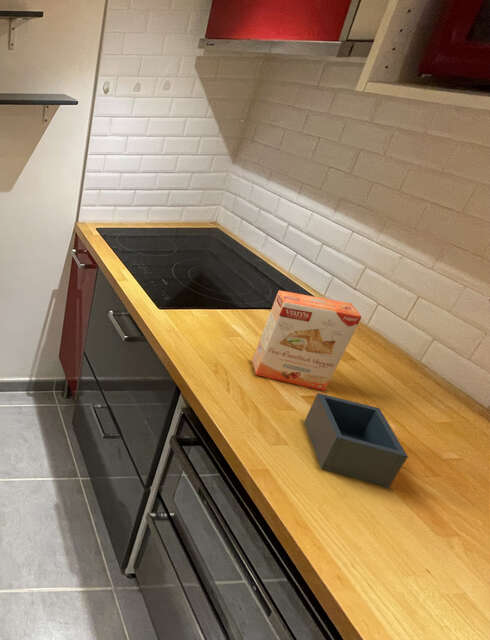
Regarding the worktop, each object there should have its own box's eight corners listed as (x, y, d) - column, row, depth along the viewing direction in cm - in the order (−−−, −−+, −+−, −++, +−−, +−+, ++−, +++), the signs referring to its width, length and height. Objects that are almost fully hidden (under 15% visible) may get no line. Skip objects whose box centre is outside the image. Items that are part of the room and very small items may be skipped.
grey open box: (379, 408, 86) (317, 392, 89) (408, 456, 76) (336, 437, 79) (363, 438, 89) (303, 422, 93) (388, 488, 79) (320, 468, 83)
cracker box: (255, 376, 105) (284, 301, 96) (250, 361, 110) (277, 288, 102) (326, 393, 100) (363, 315, 92) (318, 376, 106) (352, 301, 97)
